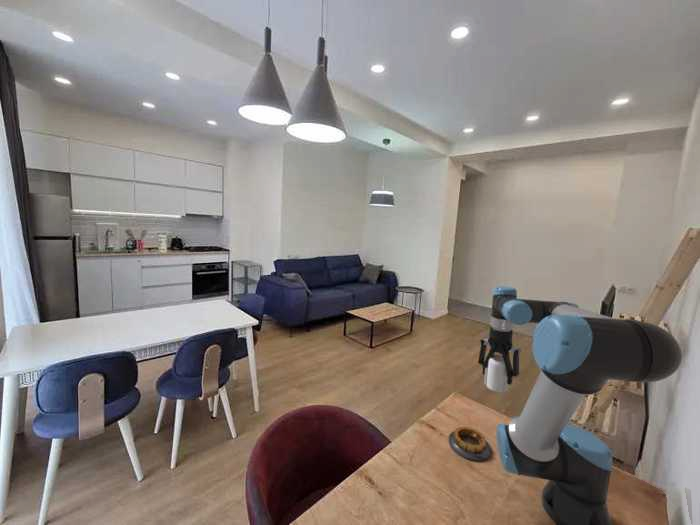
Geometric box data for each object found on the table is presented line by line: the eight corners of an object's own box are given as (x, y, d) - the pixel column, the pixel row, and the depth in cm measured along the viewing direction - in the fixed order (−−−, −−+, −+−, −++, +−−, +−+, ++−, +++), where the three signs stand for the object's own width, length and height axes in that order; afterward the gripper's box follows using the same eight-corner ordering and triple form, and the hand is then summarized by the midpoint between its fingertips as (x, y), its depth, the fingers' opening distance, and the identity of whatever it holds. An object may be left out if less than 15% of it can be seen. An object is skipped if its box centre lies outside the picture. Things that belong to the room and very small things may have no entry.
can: (505, 394, 105) (509, 363, 104) (486, 390, 108) (489, 359, 107) (504, 386, 111) (507, 356, 110) (486, 382, 114) (489, 353, 112)
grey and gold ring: (497, 447, 103) (498, 438, 103) (479, 468, 94) (480, 458, 94) (460, 427, 114) (461, 418, 113) (441, 443, 105) (441, 434, 104)
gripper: (534, 333, 102) (527, 395, 105) (479, 319, 117) (475, 374, 119) (527, 338, 97) (520, 402, 100) (471, 323, 112) (466, 379, 114)
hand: (495, 387), depth 109 cm, fingers closed on can, 6 cm apart
